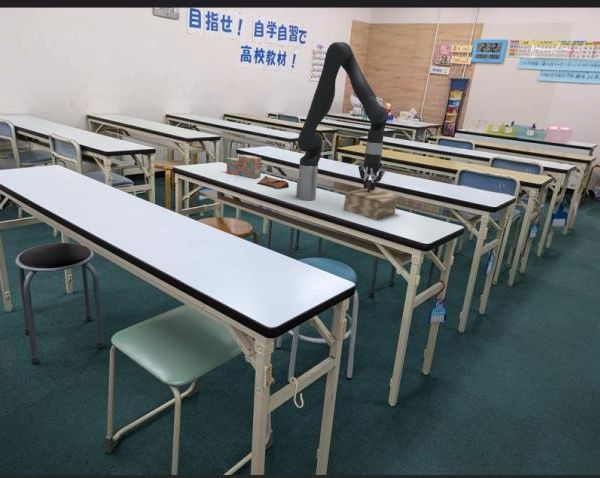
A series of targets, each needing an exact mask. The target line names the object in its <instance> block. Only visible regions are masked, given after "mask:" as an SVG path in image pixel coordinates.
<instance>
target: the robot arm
mask: <svg viewBox="0 0 600 478" xmlns="http://www.w3.org/2000/svg"><path fill="white" fill-rule="evenodd" d="M340 68H343V70H344V71H345V73H346V74H347V76H348V78H349V81H350V84H351V87H352V90H353V92H354V94H355V96H356V98H357V100H358V101H359V103H360V104H361V105H362V107H363V110H364V112H365V115H366V117H367V119H369V122H370V128H369V129H368V131H367V137H366V144H365V151H364V159H363V162H364V163H363V164H362V165H358V172H359V176H360V179H362V180H363V189H367V188H368V186H367V184H366V183H367V181H368V180H370V177H371V181H372V183H371V188H370V190H371V191H373V190H374V189H376V185H377V183H378V182H381V180H382V179H383V177H384V174H385V173H386V171H385V170H383V169H381V161H382V156H383V155H382V153H383V145H384V144H383V143H384V142H383V141H384V132H385V128H386V125H387V120H388V111H387V109H386V108H385V107H384V106H381V105H380V104H379V102H378V101H377V96H376V94H375V92H374V90H373V89H372V87H371V85H370V84H369V83H368V81H367V79H366V78H365V76H364V74H363V72H362V69H361V68H360V66H359V64H358V61H357V59H356V57H355V54H354V52H353V49H352V47H351V46H350V45H349V43H347V42H343V41H335V42H332V43H331V44H330V45H329V46H328V48H327V50H326V53H325V57H324V61H323V65H322V71H321V73H320V76H319V78H318V82H317V85H316V89H315V92H314V94H313V97H312V100H311V104H310V107H309V109H308V112H307V116H306V119H305V121H304V123H303V126H302V128H301V130H300V132H299V134H298V137H297V147H298V149H299V150H300V152H305V153H304V155H303V156H302V157H301V158H299V169H298V171H299V172H298V178H296V180H297V181H296V192H295V193H296V194H295V196H296V198H298V199H299V200H302V201H314V200H316V199H317V198H316V196H317V184H318V172H319V171H318V170H319V161H321V160H320V159H321V155H322V154H321V153H322V146H323V138H322V136H321V134H320V133H319V132H317V128H318V126H319V124H321V122H322V121H323V120H324V119H325V117H327V115H328V113H329V112H330V111H331V108H332V105H333V102H334V100H335V96H336V80H337V76H338V74H339V71H340Z"/></svg>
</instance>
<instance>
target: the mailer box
mask: <svg viewBox="0 0 600 478" xmlns="http://www.w3.org/2000/svg"><path fill="white" fill-rule="evenodd" d="M397 200H398V199H397ZM397 200H393V201H390V202H386V203H379V202H376V201H372V200H368V199H365V198H361V197H357V196H354V195H350V194H349V192H347V193H345V196H344V205H343V211H344V212H348V213H352V214H355V215H358V216H362V217H365V218H368V219H372V220H374V221H376V220H379V219H383V218H385V217H388V216H392V215H395V214H396V206H397Z"/></svg>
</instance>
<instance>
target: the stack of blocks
mask: <svg viewBox="0 0 600 478" xmlns="http://www.w3.org/2000/svg"><path fill="white" fill-rule="evenodd" d="M261 170H262V157H260V156H259V157H258V156H255V155H250V154H249V155H248V154H240V155H238V157H227V158H226V174H228V175H232V176H236V177H243V178H246V179H247V178H248V179H253V180H257V179H261V175H262V174H261Z"/></svg>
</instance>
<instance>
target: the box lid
mask: <svg viewBox="0 0 600 478" xmlns="http://www.w3.org/2000/svg"><path fill="white" fill-rule="evenodd" d="M371 183H372V179H369V180H368V181H367V183H366V184H367V186H368V188H367V189H364V188H361V189H356V190H352V191H349V192H348V193H349V194H350V195H354V196H357V197H361V198H365V199H368V200H372V201H376V202H379V203H386V202H390V201H393V200H399V199H403V195H401V194H397V193H393V192H390V191H385V190H381V189H377V188H375V189H374V190H373V191H371V190H370V188H371Z"/></svg>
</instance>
